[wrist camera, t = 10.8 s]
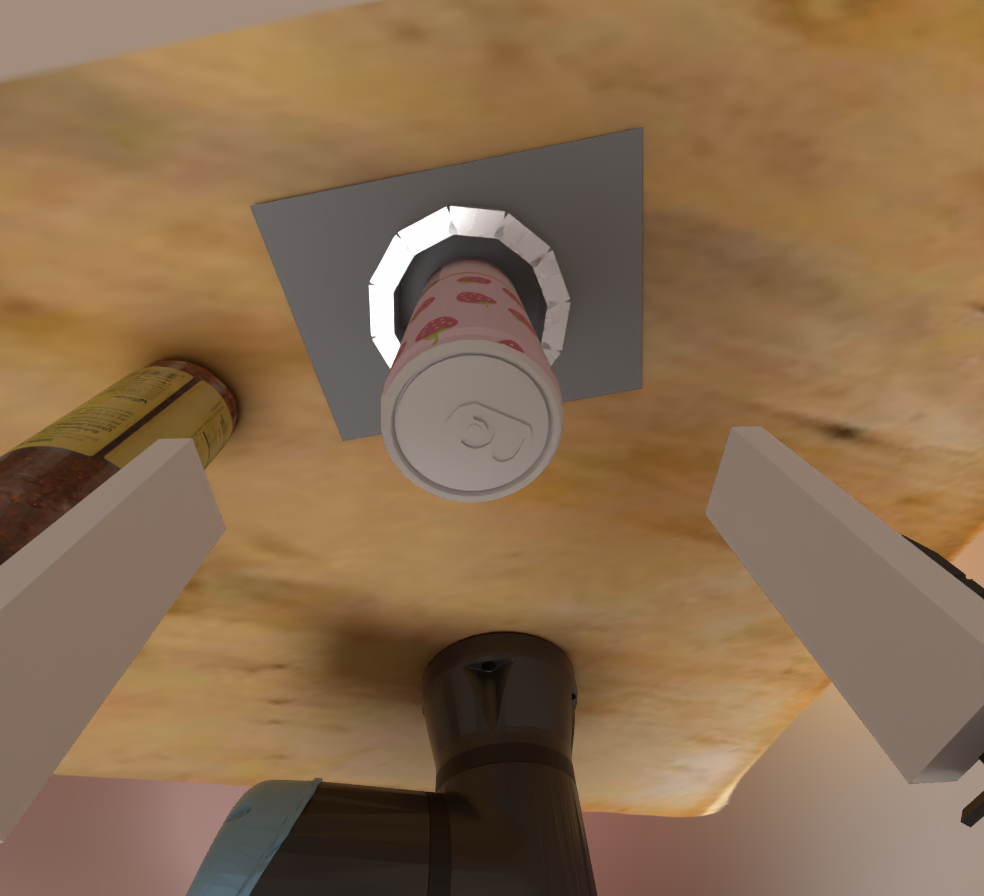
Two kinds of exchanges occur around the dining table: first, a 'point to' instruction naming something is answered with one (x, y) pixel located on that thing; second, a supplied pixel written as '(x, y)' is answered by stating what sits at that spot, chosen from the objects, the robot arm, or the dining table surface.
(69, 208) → the dining table surface
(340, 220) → the holder mat
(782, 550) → the robot arm
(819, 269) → the dining table surface
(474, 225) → the white segmented ring
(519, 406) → the beverage can
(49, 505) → the sauce bottle
